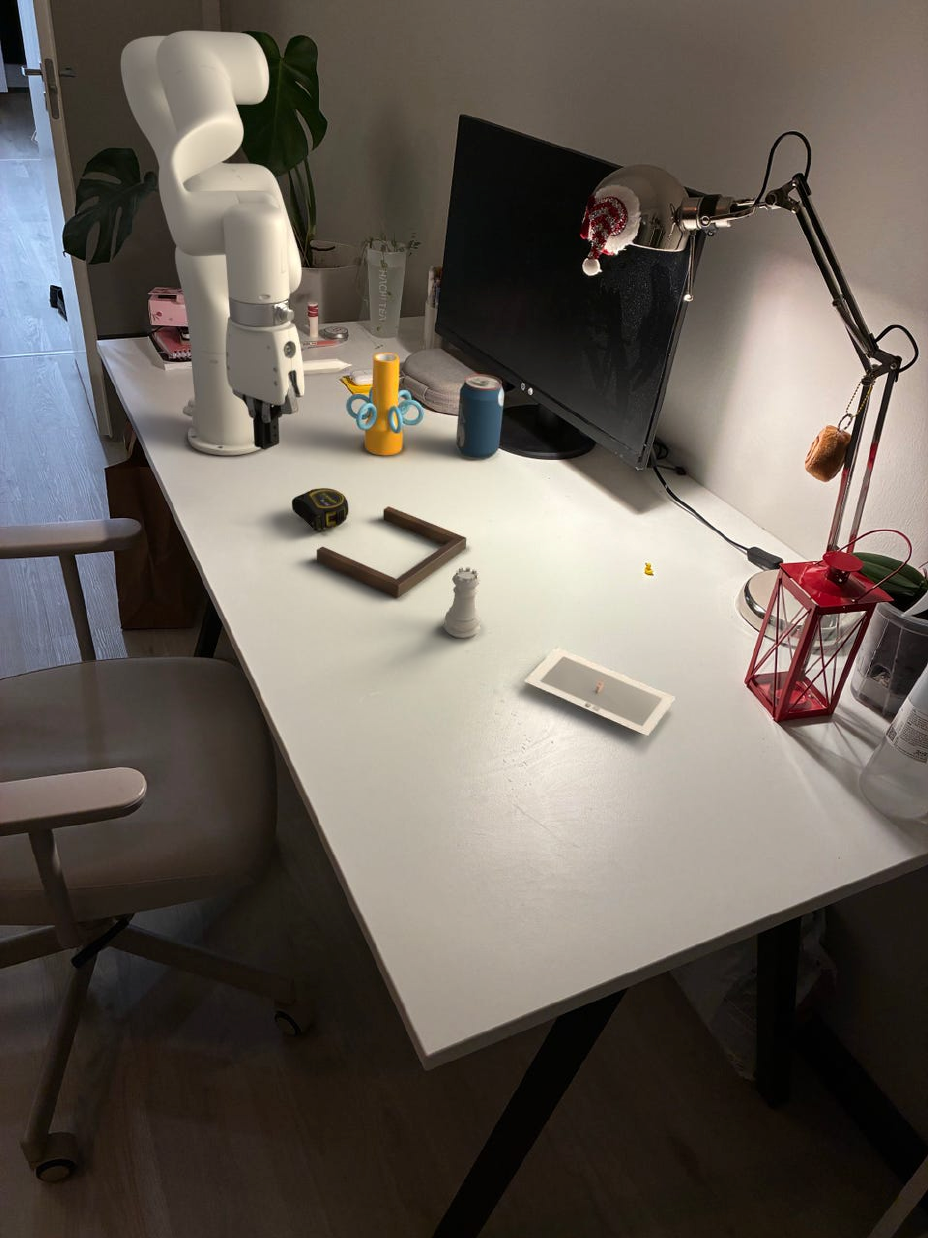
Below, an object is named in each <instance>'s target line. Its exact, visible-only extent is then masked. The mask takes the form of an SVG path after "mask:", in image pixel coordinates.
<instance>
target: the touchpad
mask: <svg viewBox="0 0 928 1238" xmlns="http://www.w3.org/2000/svg"><path fill="white" fill-rule="evenodd" d="M523 682H525V683H527V684H529V685H531V686H534V687H536V688H538V689H541V690H543V691H544V692H547V693H549V694H551V695H553V696H556V697H559V698H561V699H563V700H565V701H568V702H570V703H571V704H574V705H576V706H579V707H581V708H583V709H585V710H588V711H590V712H593V714H597V715H599V716H600V717H604V718H606V719H609V720H610V721H612V722H615V723H617V724H619V725H622V726H623V727H626V728H629V730H633V731H635V732H637V733H639V734H642V735H644V736H646V737H649V735H650V734H651V733H652V732H653V731H654V729H655V728H656V726H657V724H658V723H659V722H660V721H661V719H662V718H663V717H664V715H665V713H667V711H668V709H669V708H670V707H671V705H672V704H673V703H674V701H675V700H676V698H677V697H676V696H673V695H671V694H668V693H666V692H664V691H662V690H659V689H657V688H654V687H652V686H649V685H647V684H645V683H642V682H641V681H638V680H636V679H633V678H631V677H629V676H626V675H623V674H622V673H619V672H616V671H614V670H612V669H610V668H607V667H604V666H602V665H600V664H598V663H595V662H593V661H591V660H588V659H586V658H583V657H581V656H579V655H577V654H574V653H571V652H569V651H567V650H564V649H562V648H560V647H558V646H556V647H555V648H554V649H553V650H552V651H551V652H550V653H549V654H548V655H547V656H546V657H545V658H544V659H543V661H541V662H540V663H539V665H538V666H536V668H535V669H534V670H532V671H531V673H530V674H529V675H528V676H527V677H526V678H525V679H524V680H523Z"/></svg>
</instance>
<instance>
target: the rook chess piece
mask: <svg viewBox="0 0 928 1238" xmlns="http://www.w3.org/2000/svg"><path fill="white" fill-rule="evenodd" d="M477 571H478V570H476V569H475V568H473V569H472V570H471V567H469V566H465V569H464V568H463V567H459V568H458V570H456V571H455V574H454V575H453V576H452V578H451V581H452V582H453V584H454V585H455V586H454V587H453V590H452V591H453V593H454V598H453V601H452V605H451V606H450V607H449V609H448V611H446V613H445V616H444V621H443V627H444V629H445V631H446V632H447V633H448V634H449V635H450V636H453V637H455V638H457V639H458V638H460V639H468V638H469V639H470V638H471V637H474V636H475V635H476V634H477V633H478V632H479V631H480V630H481V616H480V614H479V612H478V610H477V608H476V595H477V593H478V590H477V588H476V587H477V586H479V585H480V584H481V578H480V576H478V573H477Z"/></svg>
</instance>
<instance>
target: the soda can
mask: <svg viewBox="0 0 928 1238" xmlns="http://www.w3.org/2000/svg"><path fill="white" fill-rule="evenodd" d="M502 383H503V382H502V380H501V379H500V378H498V377H496V376H493V375H490V374H482V373H477V374H476V373H475V374H470V375H468V376H466V377H465V378H464V382H463V384H462V386H461V387H460V389H459V399H458V411H457V424H456V425H457V426H456V438H455V445H456V448H457V449H458V451H459V453H460V455H462V456H463V457H465V458H467V459H470V460H475V461H476V460H479V461H480V460H481V461H483V460H488V459H490V458H492V457H493V456H494V455H496V453H497V451H498V450H499V448H500V441H501V431H502V422H503V421H502V420H503V412H504V411H503V410H504V400H505V391H504V389H503V386H502Z"/></svg>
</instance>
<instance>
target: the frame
mask: <svg viewBox="0 0 928 1238" xmlns="http://www.w3.org/2000/svg"><path fill="white" fill-rule="evenodd" d="M382 511H383V513H382V515H383V516H382V521H384V522H387V523H389V524H391V525H393V526H396V527H399V528H401V529H404V530H406V531H408V532H411V533H413V534H415V535H417V536H420V537H422V538H425V539H428V540H430V541H431V542H434V543H436V544H440V545H441V546H442V547H440V548H439V549H437V550H436V551H434V552H433V553H431V554H430V555H429V556H427V557H426V558H424V559H423V560H421V561H420V562H418V563H416V564H415V565H414V566H413V567H411V568H410V569H408V570H407V571H405V572H404V573H403V574H401V575H399V577H397V578H395V577H393V576H391V575H388V574H387V573H384V572H381V571H379V570H377V569H375V568H373V567H370V566H368V565H366V564H363V563H362V562H359V561H357V560H355V559H352V558H350V557H348V556H345V555H343V554H340V553H339V552H336V551H334V550H332V549H329V548H327V547H325V546H320V547H319V548H317V549H316V562H317V563H319V564H322V565H324V566H325V567H328V568H330V569H333V570H335V571H337V572H339V573H342V574H344V575H346V576H349V577H351V578H352V579H355V580H356V581H359V582H362V583H364V584H366V585H369V586H370V587H372V588H374V589H377V590H379V591H381V592H384V593H386V594H388V595H390V596H392V597H394V598H400V597H401V596H403V595H405V594H406V593H407V592H408V591H410V590H411V589H412V588H414V587H415V586H417V585H418V584H420V583H421V582H422V581H424V580H425V579H426V578H428V577H429V576H430V575H432V574H433V573H435V572H436V571H437V570H438V569H440V568H441V567H443V566H444V565H446V564H447V563H448V562H450V561H451V560H453V559H454V558H455V557H457V556H458V555H459V554H461V553H462V552H463V551H465V550H466V548H467V537H466V536H464V535H461V534H458V533H456V532H453V531H451V530H448V529H447V528H444V527H441V526H440V525H436V524H433V523H431V522H430V521H429V522H428V521H426V520H424V519H421V518H420V517H417V516H414V515H411V514H409V513H406V512H404V511H401V510H399V509H397V508H394V507H392V506H389V505H388V506H386V507H385V508H383V510H382Z"/></svg>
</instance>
